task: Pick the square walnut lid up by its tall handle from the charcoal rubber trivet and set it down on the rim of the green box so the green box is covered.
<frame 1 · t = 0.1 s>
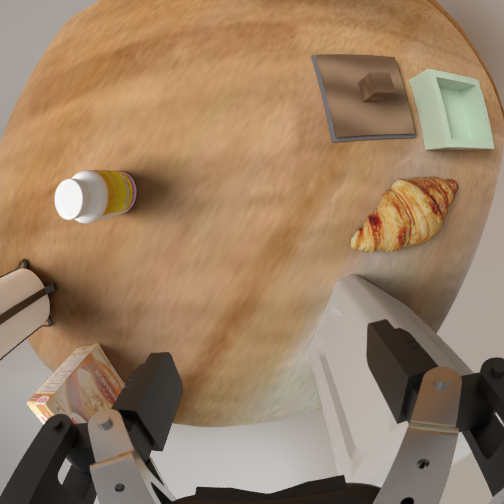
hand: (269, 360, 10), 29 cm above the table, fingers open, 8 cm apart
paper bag: (356, 315, 42), on the table
croissant: (401, 209, 37), on the table
coffee press: (33, 290, 43), on the table
trivet: (366, 95, 33), on the table
green box: (444, 115, 33), on the table
supplement bottle: (119, 192, 38), on the table
coffeecake box: (106, 373, 47), on the table
lid: (367, 94, 33), resting on trivet
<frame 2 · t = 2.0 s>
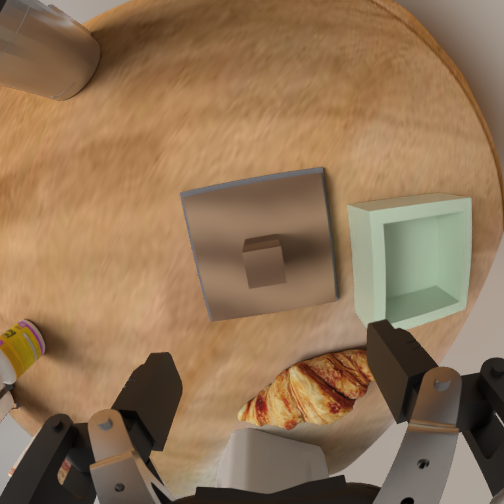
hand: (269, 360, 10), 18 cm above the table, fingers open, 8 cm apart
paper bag: (260, 451, 36), on the table
croissant: (309, 379, 32), on the table
trivet: (263, 248, 27), on the table
green box: (400, 251, 27), on the table
supplement bottle: (33, 335, 32), on the table
coffeecake box: (66, 446, 41), on the table
lid: (263, 249, 27), resting on trivet
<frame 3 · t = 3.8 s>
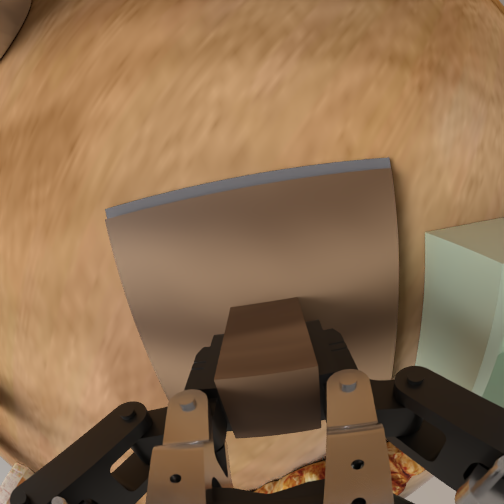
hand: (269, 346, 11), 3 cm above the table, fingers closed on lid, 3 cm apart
croissant: (329, 470, 18), on the table
trivet: (268, 317, 14), on the table
green box: (484, 305, 13), on the table
coffeecake box: (44, 483, 28), on the table
lid: (268, 320, 13), resting on trivet, touching gripper
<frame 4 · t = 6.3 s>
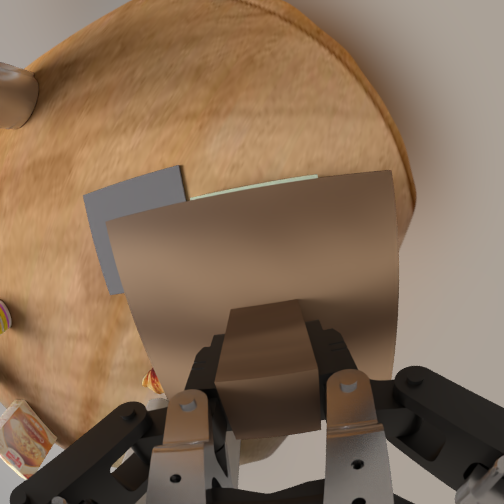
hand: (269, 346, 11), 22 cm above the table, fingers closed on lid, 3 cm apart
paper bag: (177, 424, 41), on the table
croissant: (200, 356, 37), on the table
trivet: (139, 235, 32), on the table
green box: (263, 235, 32), on the table
supplement bottle: (3, 312, 37), on the table
coffeecake box: (36, 418, 46), on the table
lid: (268, 322, 13), point 19 cm above the table, touching gripper
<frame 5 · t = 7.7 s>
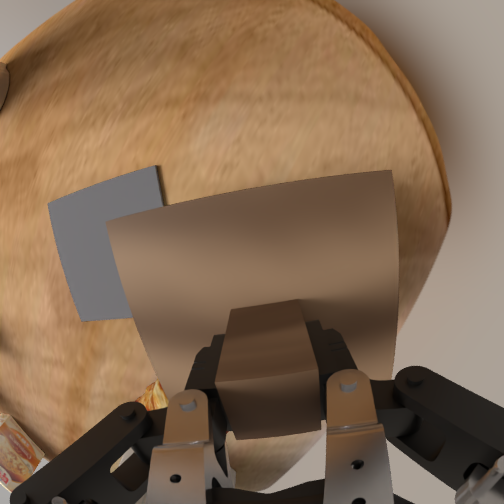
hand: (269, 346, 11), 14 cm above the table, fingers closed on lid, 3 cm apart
croissant: (188, 394, 30), on the table
trivet: (110, 253, 25), on the table
coffeecake box: (23, 433, 39), on the table
lid: (268, 322, 13), point 12 cm above the table, touching gripper
when the fingers open (9 cm above the table, at t = 8.9 s): lid stays where it is, resting on green box.
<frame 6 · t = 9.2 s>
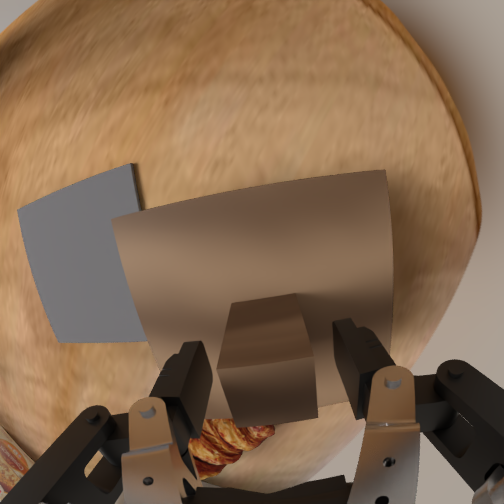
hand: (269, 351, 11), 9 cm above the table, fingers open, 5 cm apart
croissant: (180, 425, 25), on the table
trivet: (83, 268, 20), on the table
coffeecake box: (15, 444, 34), on the table
lid: (267, 316, 14), point 6 cm above the table, touching green box
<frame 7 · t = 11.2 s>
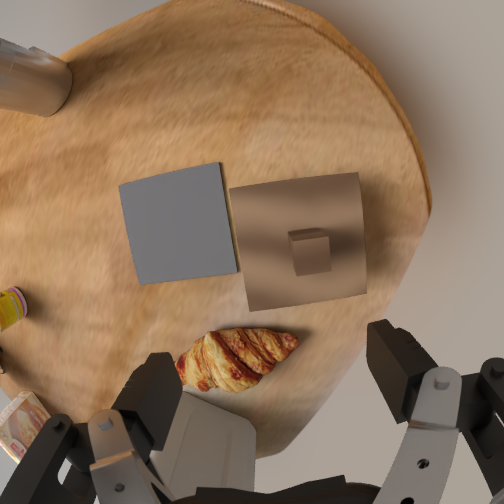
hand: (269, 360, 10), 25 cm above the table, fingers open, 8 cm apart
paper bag: (194, 417, 43), on the table
croissant: (227, 350, 39), on the table
trivet: (175, 226, 34), on the table
supplement bottle: (19, 301, 39), on the table
coffeecake box: (42, 411, 48), on the table
lid: (302, 242, 28), point 6 cm above the table, touching green box
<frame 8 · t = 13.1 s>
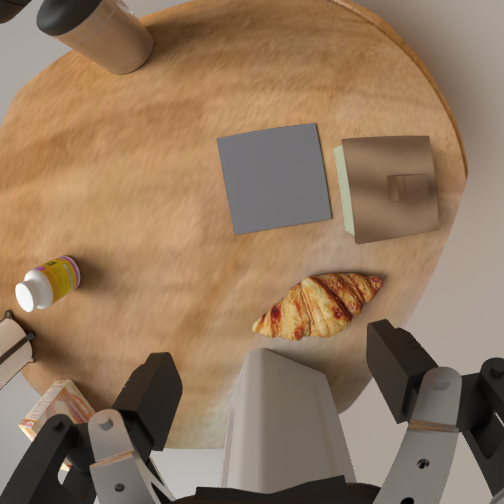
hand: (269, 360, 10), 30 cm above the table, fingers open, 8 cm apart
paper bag: (270, 379, 46), on the table
croissant: (314, 299, 42), on the table
coffee press: (19, 333, 47), on the table
trivet: (275, 177, 37), on the table
green box: (376, 185, 37), on the table
supplement bottle: (69, 271, 42), on the table
coffeecake box: (80, 400, 51), on the table
lid: (394, 186, 31), point 6 cm above the table, touching green box
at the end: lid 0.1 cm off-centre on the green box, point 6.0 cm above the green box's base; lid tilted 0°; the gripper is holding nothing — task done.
